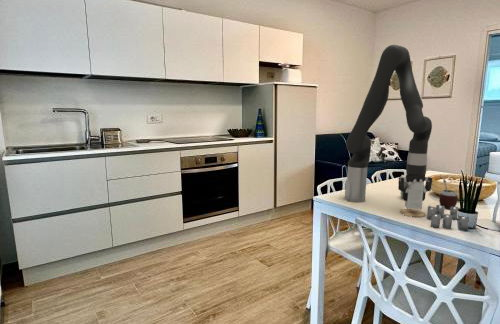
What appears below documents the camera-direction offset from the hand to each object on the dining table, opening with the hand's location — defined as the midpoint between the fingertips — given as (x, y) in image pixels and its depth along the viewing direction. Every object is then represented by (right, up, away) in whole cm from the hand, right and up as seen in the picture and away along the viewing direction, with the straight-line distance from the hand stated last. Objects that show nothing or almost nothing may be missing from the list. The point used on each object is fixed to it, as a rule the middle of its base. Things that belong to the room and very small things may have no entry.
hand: (413, 200), depth 137 cm
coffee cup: (+9, -2, +23) cm, 25 cm away
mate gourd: (+21, -5, +10) cm, 23 cm away
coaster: (0, -6, +1) cm, 6 cm away
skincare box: (0, -3, +1) cm, 3 cm away
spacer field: (+10, -8, -10) cm, 16 cm away
